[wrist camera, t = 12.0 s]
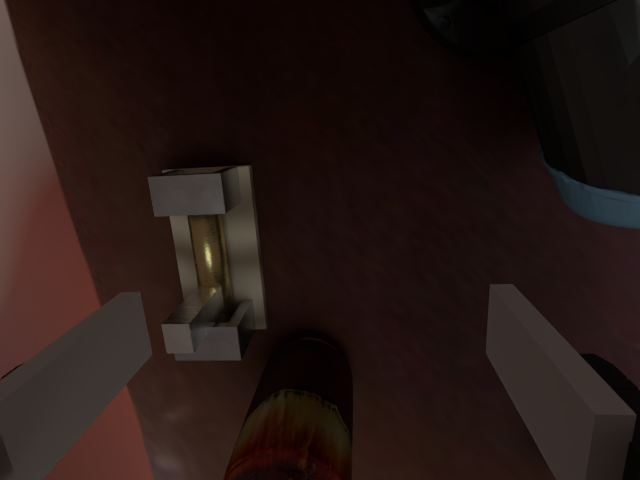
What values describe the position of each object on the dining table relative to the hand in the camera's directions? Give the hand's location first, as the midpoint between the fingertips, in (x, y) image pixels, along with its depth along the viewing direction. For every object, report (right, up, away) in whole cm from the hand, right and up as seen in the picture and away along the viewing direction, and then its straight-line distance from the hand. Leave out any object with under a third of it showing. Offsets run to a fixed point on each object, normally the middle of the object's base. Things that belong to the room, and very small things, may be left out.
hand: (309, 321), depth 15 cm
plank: (-12, +2, +34) cm, 36 cm away
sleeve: (-12, +9, +30) cm, 34 cm away
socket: (-11, -6, +35) cm, 37 cm away
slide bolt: (-12, +2, +32) cm, 34 cm away
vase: (-1, -13, +37) cm, 40 cm away
